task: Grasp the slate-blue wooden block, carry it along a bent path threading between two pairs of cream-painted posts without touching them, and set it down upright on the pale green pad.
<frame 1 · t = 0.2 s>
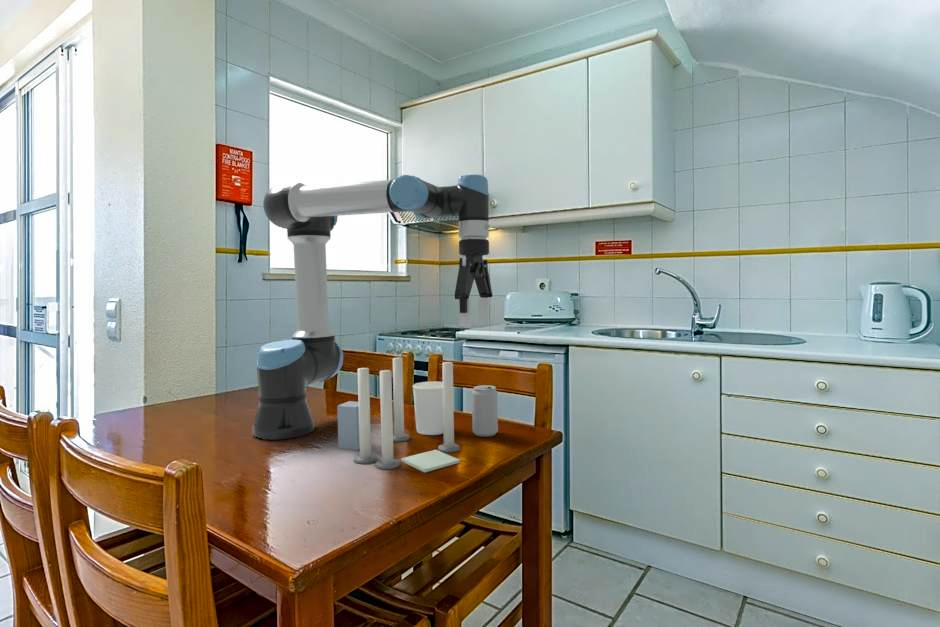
hand: (474, 324, 130), 28 cm above the table, fingers open, 13 cm apart
gate 2 posts: (419, 456, 114), on the table
beverage can: (485, 434, 131), on the table
white cup: (432, 431, 135), on the table
block: (353, 445, 123), on the table
gate 1 posts: (383, 448, 121), on the table
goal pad: (430, 461, 111), on the table
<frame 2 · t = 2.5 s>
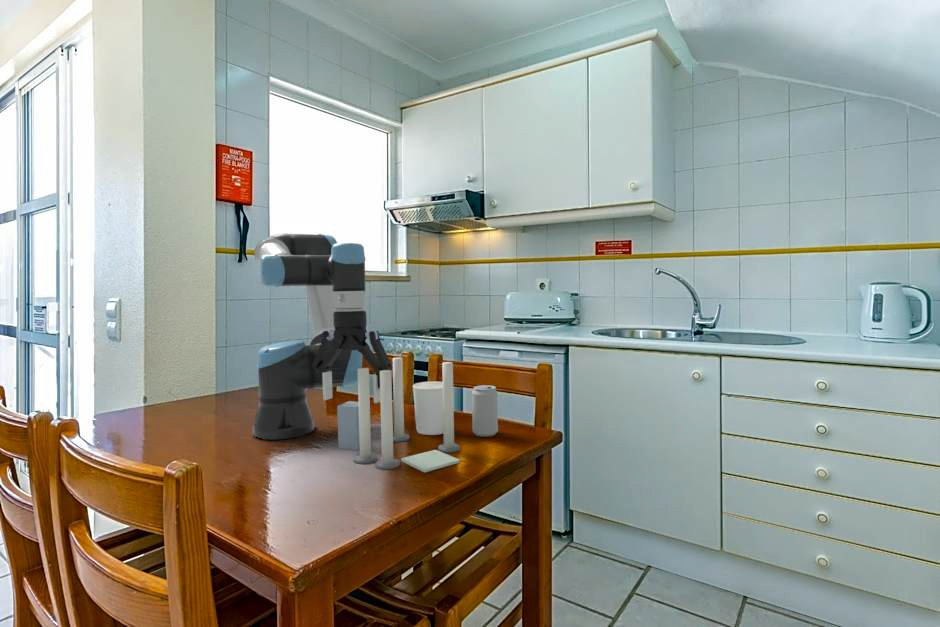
hand: (352, 400, 122), 11 cm above the table, fingers open, 13 cm apart
nothing on the table moved.
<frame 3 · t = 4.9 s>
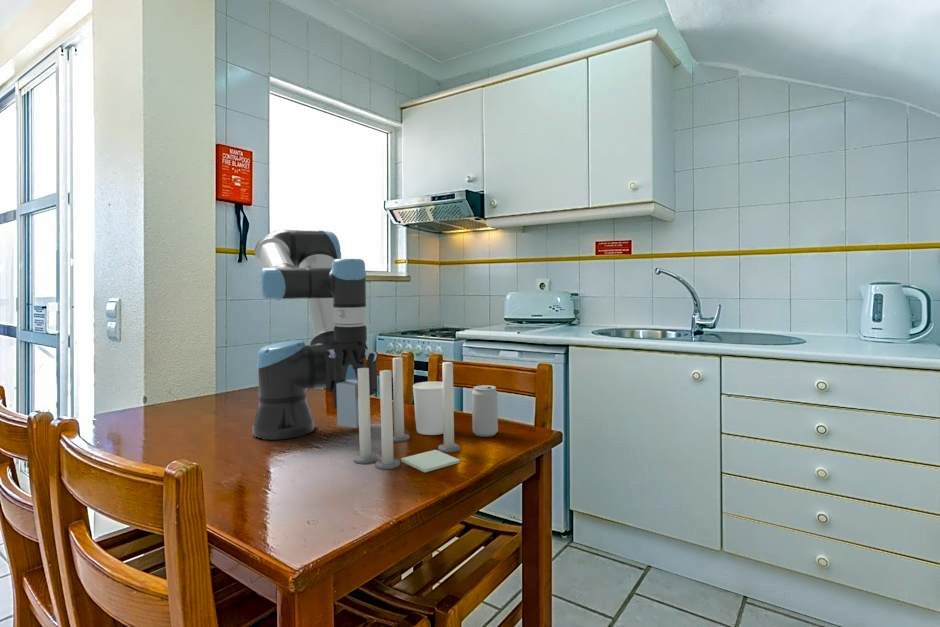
hand: (352, 422, 123), 5 cm above the table, fingers closed on block, 5 cm apart
block: (352, 423, 124), point 5 cm above the table, touching gripper
everything else where it was.
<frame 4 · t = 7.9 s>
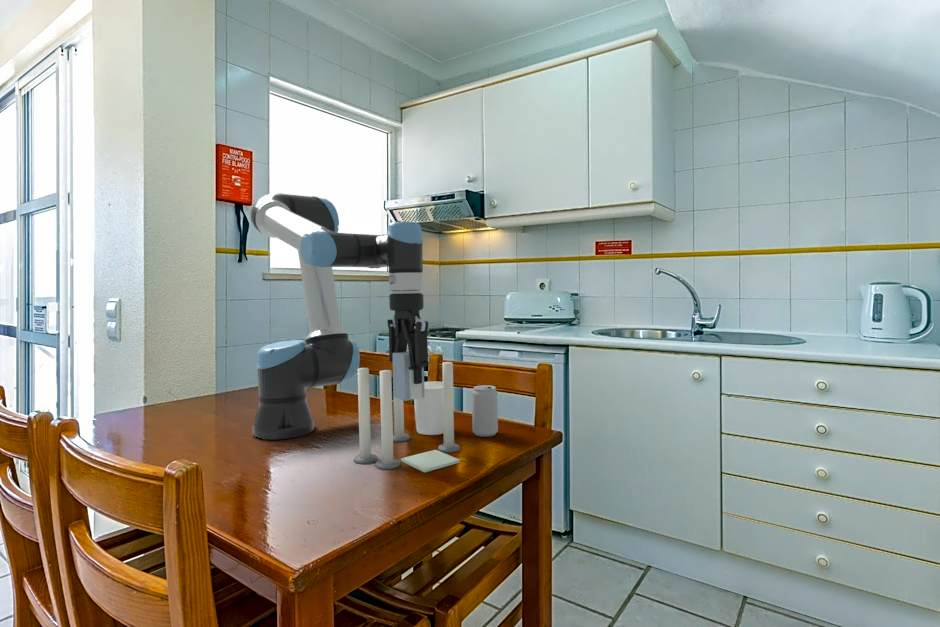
hand: (408, 395, 117), 13 cm above the table, fingers closed on block, 5 cm apart
block: (409, 397, 117), point 13 cm above the table, touching gripper
everything else where it was.
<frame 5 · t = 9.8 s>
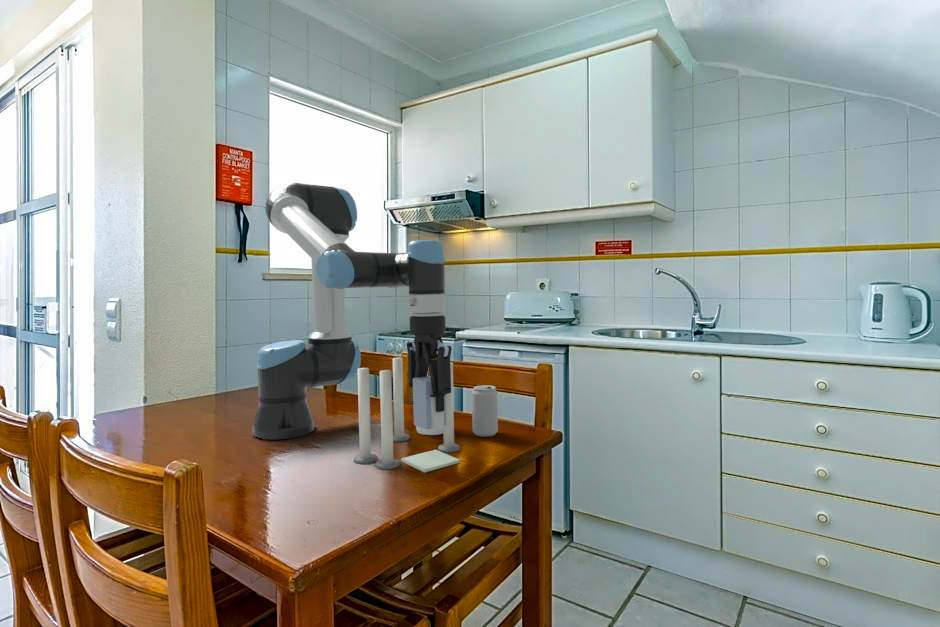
hand: (430, 423, 111), 8 cm above the table, fingers closed on block, 5 cm apart
block: (430, 425, 111), point 8 cm above the table, touching gripper
everything else where it was.
when the fingers open (1 cm above the table, at t = 11.2 s): block stays where it is, resting on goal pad.
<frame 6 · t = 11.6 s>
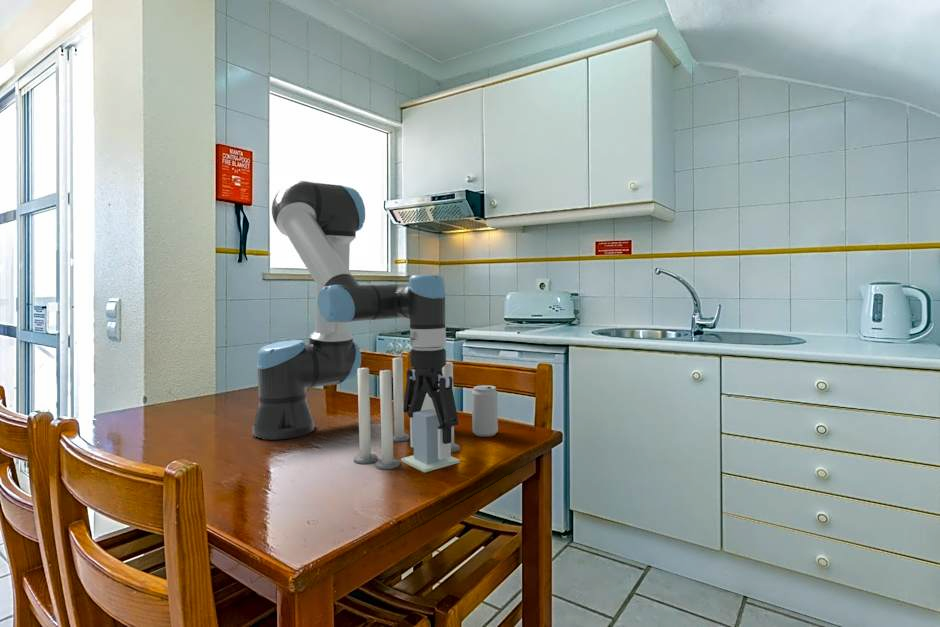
hand: (430, 451, 111), 2 cm above the table, fingers open, 10 cm apart
block: (430, 458, 111), point 1 cm above the table, touching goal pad
everything else where it was.
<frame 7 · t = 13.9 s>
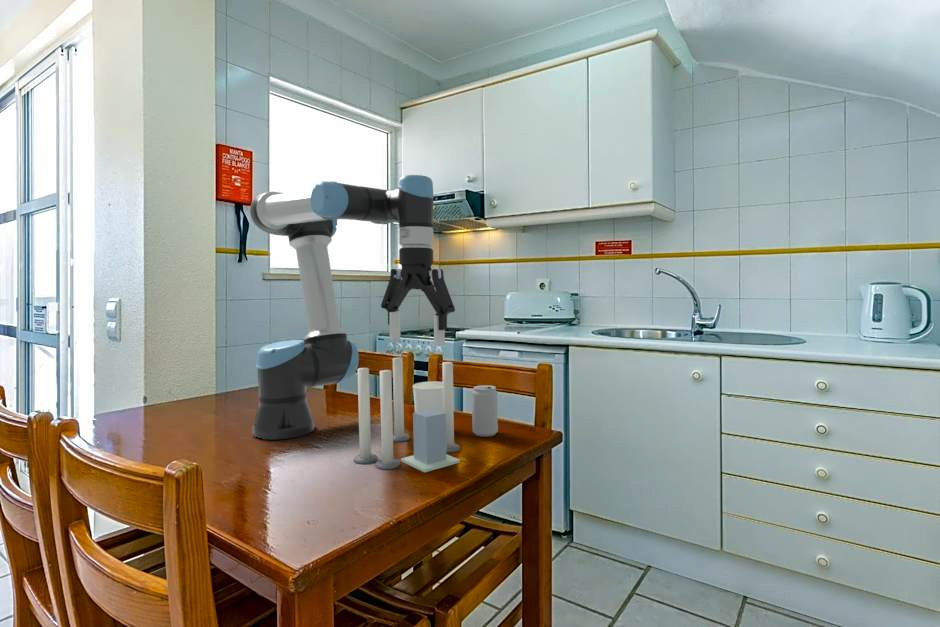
hand: (416, 342, 117), 25 cm above the table, fingers open, 13 cm apart
nothing on the table moved.
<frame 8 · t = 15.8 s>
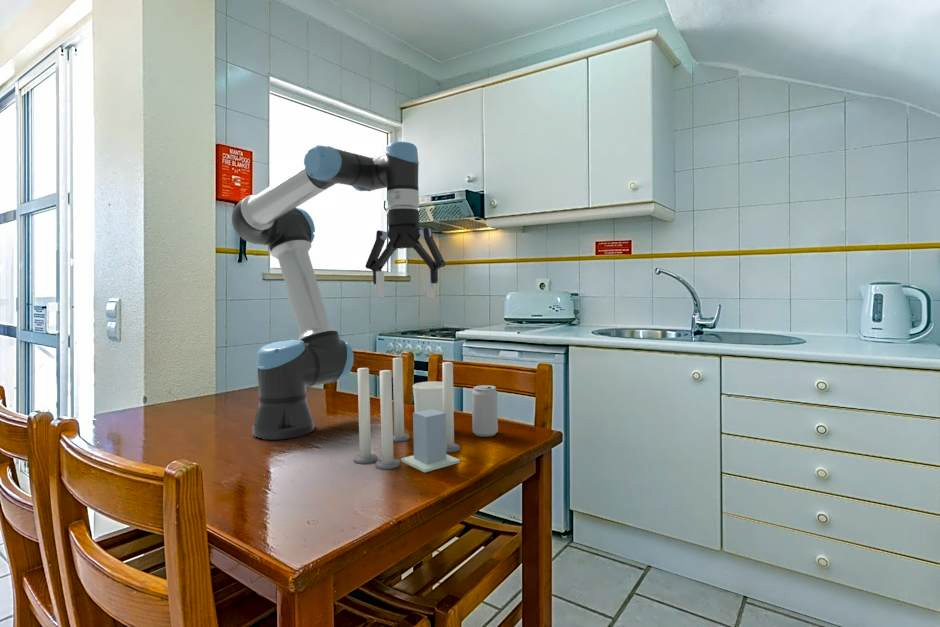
hand: (405, 297, 126), 35 cm above the table, fingers open, 13 cm apart
nothing on the table moved.
at the end: block inside the target area on the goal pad (0.0 cm from its centre), point 0.6 cm above the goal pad's base; block tilted 0°; the gripper is holding nothing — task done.
